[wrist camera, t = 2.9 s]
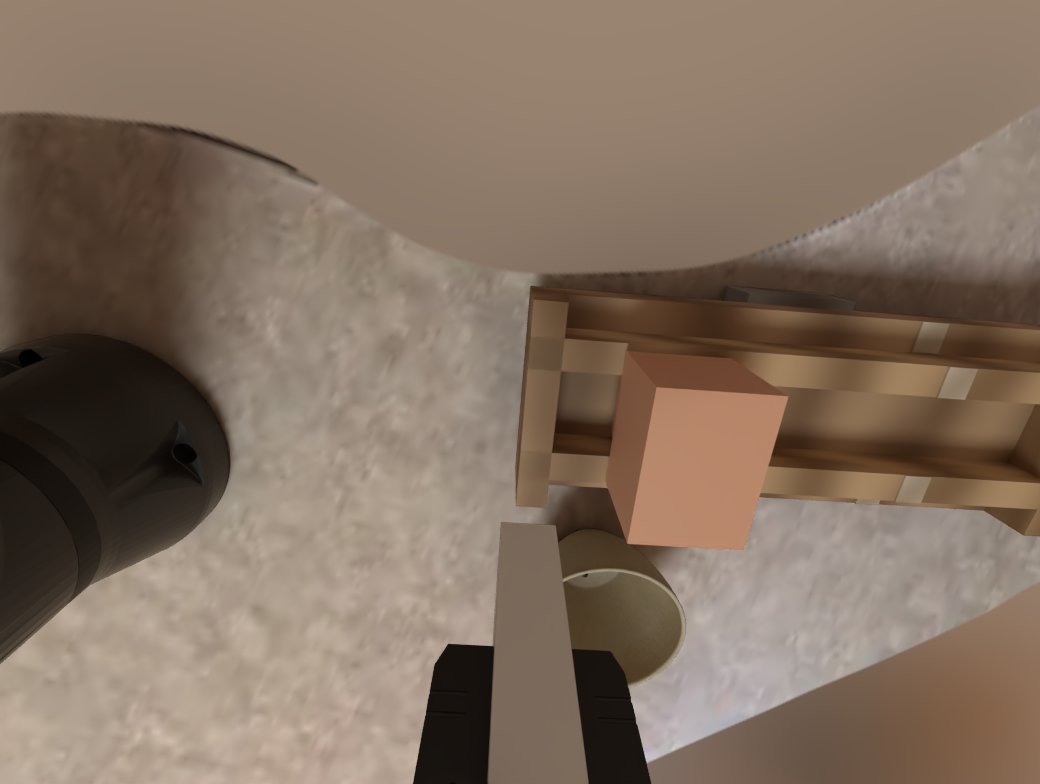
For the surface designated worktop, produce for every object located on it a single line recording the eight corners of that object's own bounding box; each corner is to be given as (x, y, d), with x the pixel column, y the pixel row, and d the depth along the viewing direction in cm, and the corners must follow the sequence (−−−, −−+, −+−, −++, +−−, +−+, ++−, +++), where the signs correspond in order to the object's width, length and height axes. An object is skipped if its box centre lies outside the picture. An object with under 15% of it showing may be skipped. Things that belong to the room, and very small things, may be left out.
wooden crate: (514, 450, 33) (515, 515, 26) (529, 270, 29) (534, 289, 22) (937, 476, 34) (1048, 545, 27) (1010, 308, 30) (1164, 336, 23)
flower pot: (562, 477, 34) (575, 543, 27) (680, 533, 35) (719, 608, 29) (497, 579, 37) (493, 661, 30) (608, 625, 38) (628, 712, 32)
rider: (597, 459, 27) (627, 543, 20) (615, 338, 25) (656, 387, 18) (684, 464, 27) (743, 550, 20) (711, 345, 25) (788, 396, 18)
